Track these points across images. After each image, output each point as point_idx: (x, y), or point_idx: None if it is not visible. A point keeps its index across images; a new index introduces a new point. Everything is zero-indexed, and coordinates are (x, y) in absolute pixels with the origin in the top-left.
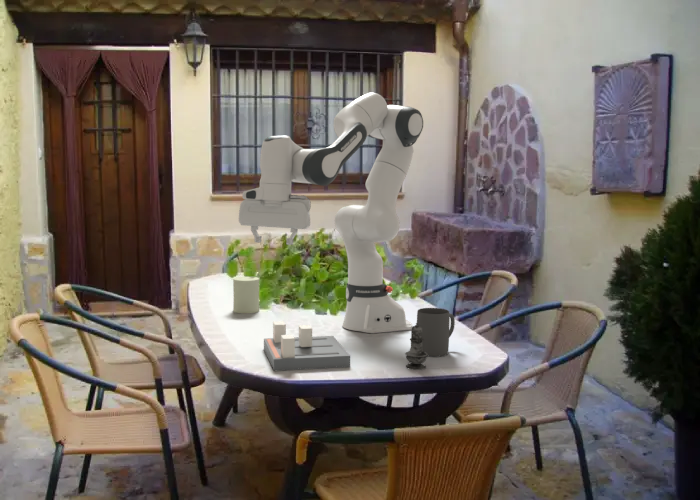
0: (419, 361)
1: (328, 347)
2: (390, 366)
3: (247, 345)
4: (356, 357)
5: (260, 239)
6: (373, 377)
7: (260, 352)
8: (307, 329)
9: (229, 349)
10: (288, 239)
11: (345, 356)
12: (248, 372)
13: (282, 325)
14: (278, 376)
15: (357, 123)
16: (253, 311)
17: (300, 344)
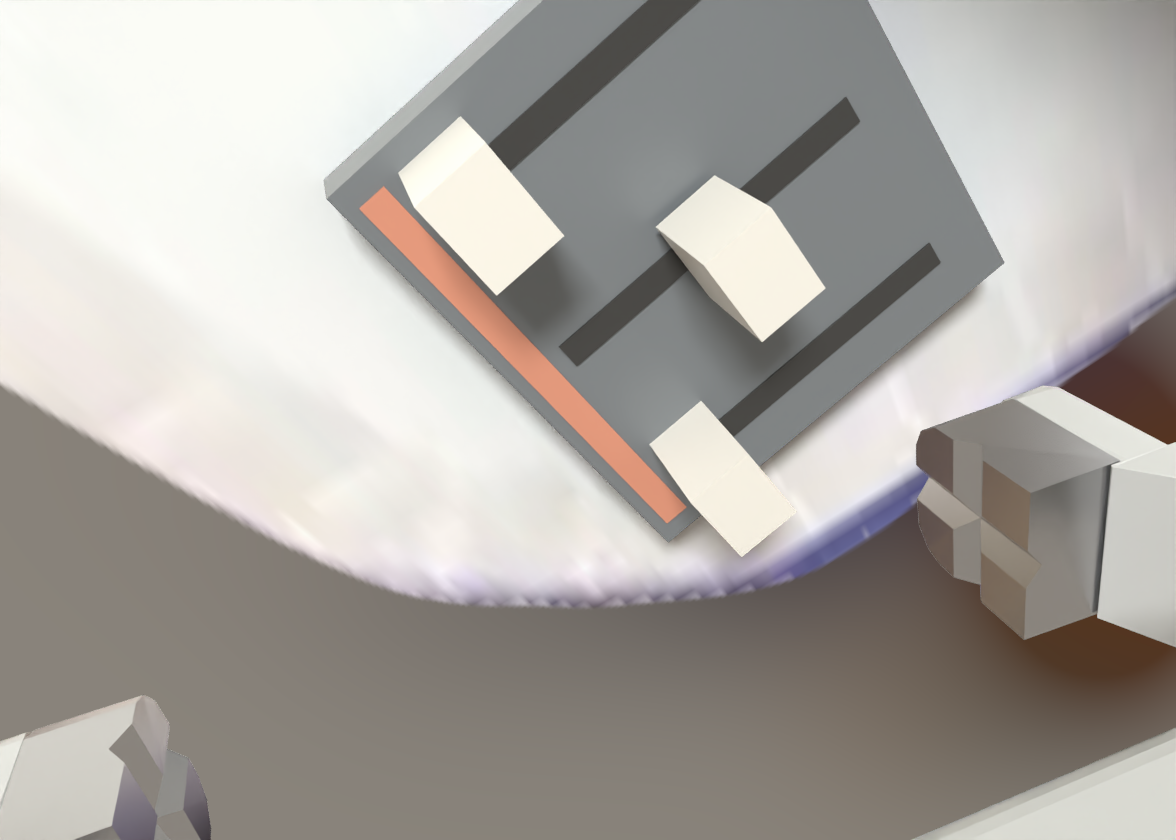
0: None
1: (843, 166)
2: (1148, 116)
3: (139, 155)
4: (953, 37)
5: (145, 787)
6: (1090, 333)
7: (362, 266)
8: (795, 310)
9: (118, 321)
10: (1054, 601)
11: (979, 280)
12: (552, 592)
13: (540, 251)
14: (707, 556)
15: None
16: None
17: (700, 283)
